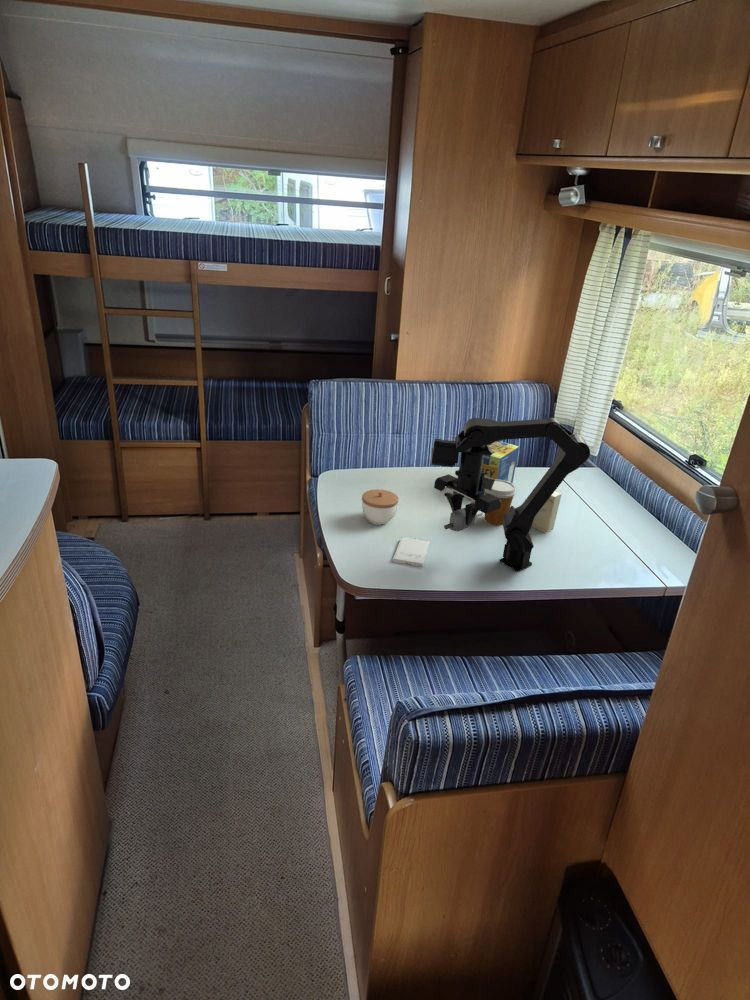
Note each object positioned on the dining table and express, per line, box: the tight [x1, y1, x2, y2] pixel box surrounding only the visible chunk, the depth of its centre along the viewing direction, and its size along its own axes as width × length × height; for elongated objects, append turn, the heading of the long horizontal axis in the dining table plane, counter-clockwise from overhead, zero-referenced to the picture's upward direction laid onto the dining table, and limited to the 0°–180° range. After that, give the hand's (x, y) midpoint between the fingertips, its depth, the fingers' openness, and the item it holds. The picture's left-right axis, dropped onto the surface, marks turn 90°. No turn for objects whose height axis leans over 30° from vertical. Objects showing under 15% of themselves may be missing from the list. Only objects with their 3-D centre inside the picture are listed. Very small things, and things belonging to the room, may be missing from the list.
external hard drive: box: [392, 536, 431, 567], centre depth 178 cm, size 2×8×12 cm
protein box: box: [478, 440, 520, 495], centre depth 217 cm, size 10×15×16 cm
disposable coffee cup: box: [484, 479, 517, 526], centre depth 197 cm, size 10×10×12 cm
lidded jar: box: [361, 488, 399, 526], centre depth 193 cm, size 11×11×9 cm
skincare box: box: [531, 490, 563, 534], centre depth 195 cm, size 6×4×12 cm
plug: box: [443, 507, 484, 532], centre depth 173 cm, size 13×4×4 cm, turn 131°
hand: (462, 522), depth 173 cm, fingers closed on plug, 4 cm apart
